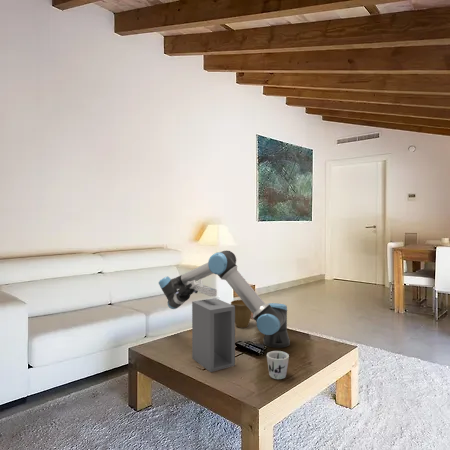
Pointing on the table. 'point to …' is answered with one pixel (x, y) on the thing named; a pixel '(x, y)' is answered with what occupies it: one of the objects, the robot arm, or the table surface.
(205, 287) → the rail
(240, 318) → the plant pot
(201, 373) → the table surface
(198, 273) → the robot arm
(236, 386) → the table surface
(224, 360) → the shelf
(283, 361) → the mug
